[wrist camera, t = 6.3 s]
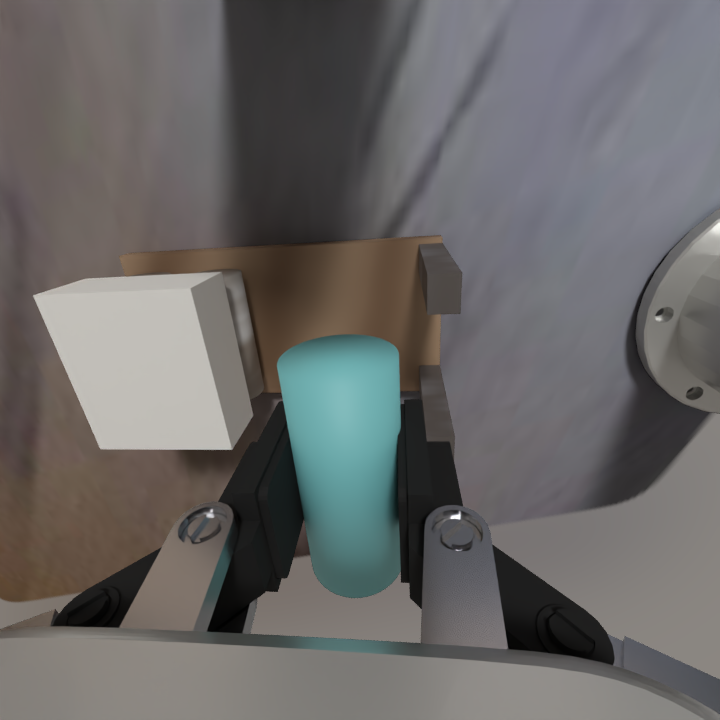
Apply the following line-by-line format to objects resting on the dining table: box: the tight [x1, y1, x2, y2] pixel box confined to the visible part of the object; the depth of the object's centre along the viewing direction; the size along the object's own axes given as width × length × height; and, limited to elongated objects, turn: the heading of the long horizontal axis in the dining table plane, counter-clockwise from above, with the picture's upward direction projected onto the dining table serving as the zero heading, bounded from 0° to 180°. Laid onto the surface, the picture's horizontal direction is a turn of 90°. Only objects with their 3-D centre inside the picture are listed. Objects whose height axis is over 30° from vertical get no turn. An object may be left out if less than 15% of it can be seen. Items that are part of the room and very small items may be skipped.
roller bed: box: [119, 235, 462, 459], centre depth 20 cm, size 18×9×8 cm, turn 94°
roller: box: [277, 334, 401, 598], centre depth 11 cm, size 7×3×3 cm, turn 4°
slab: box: [33, 272, 253, 450], centre depth 19 cm, size 7×8×3 cm
